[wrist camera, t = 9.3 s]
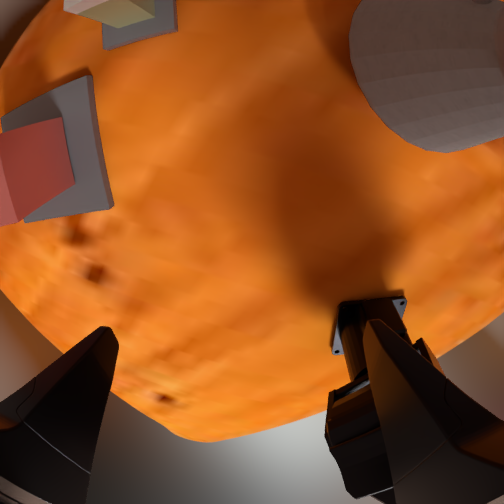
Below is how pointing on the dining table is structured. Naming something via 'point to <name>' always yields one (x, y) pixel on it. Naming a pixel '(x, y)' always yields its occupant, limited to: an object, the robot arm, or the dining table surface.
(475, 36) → the coffee pot
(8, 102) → the dining table surface
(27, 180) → the red rectangular block
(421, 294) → the dining table surface
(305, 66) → the dining table surface
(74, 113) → the grey plate with post
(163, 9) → the grey base with block
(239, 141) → the dining table surface
